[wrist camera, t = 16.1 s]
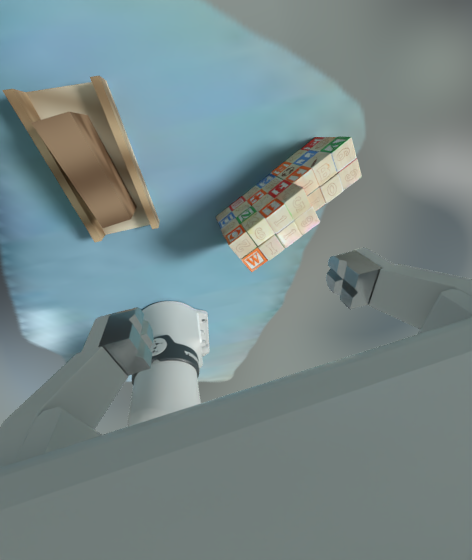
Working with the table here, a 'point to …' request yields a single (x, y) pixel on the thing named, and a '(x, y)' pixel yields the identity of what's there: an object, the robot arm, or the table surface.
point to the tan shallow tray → (111, 131)
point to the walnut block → (87, 166)
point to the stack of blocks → (288, 200)
